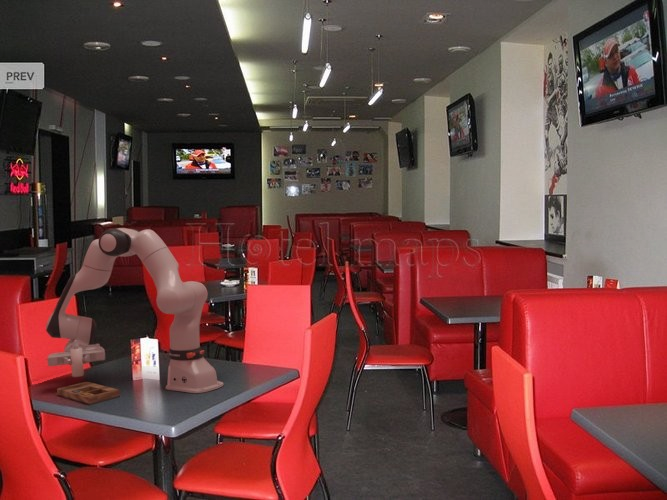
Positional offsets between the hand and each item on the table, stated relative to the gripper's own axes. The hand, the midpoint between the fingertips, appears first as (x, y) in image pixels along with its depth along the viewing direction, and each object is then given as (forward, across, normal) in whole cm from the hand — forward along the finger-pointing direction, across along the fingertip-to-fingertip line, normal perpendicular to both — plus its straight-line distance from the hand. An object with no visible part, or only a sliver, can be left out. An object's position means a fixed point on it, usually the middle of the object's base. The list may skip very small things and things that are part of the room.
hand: (77, 361), depth 244 cm
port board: (+5, +3, +12) cm, 13 cm away
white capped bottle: (-1, 0, +6) cm, 6 cm away
